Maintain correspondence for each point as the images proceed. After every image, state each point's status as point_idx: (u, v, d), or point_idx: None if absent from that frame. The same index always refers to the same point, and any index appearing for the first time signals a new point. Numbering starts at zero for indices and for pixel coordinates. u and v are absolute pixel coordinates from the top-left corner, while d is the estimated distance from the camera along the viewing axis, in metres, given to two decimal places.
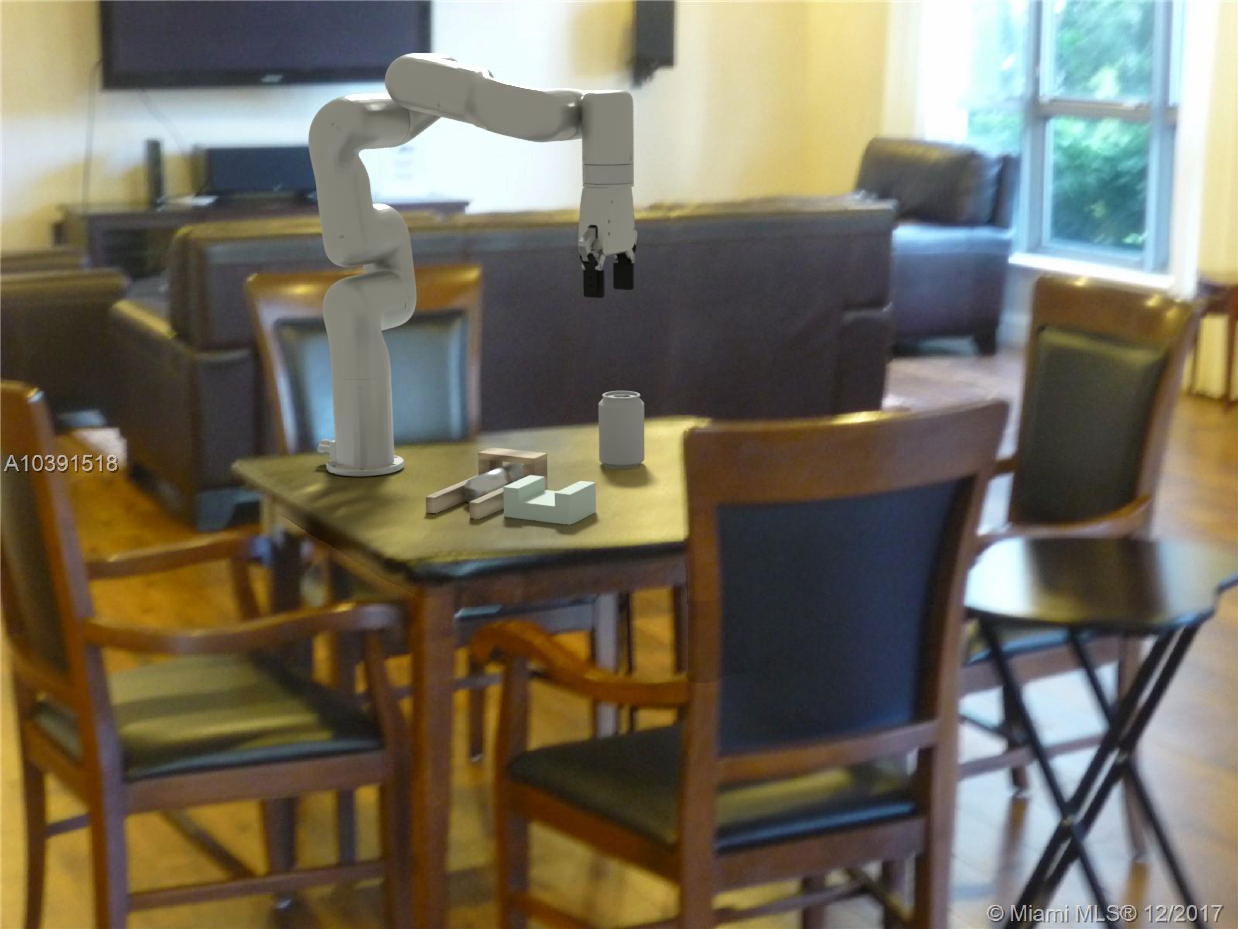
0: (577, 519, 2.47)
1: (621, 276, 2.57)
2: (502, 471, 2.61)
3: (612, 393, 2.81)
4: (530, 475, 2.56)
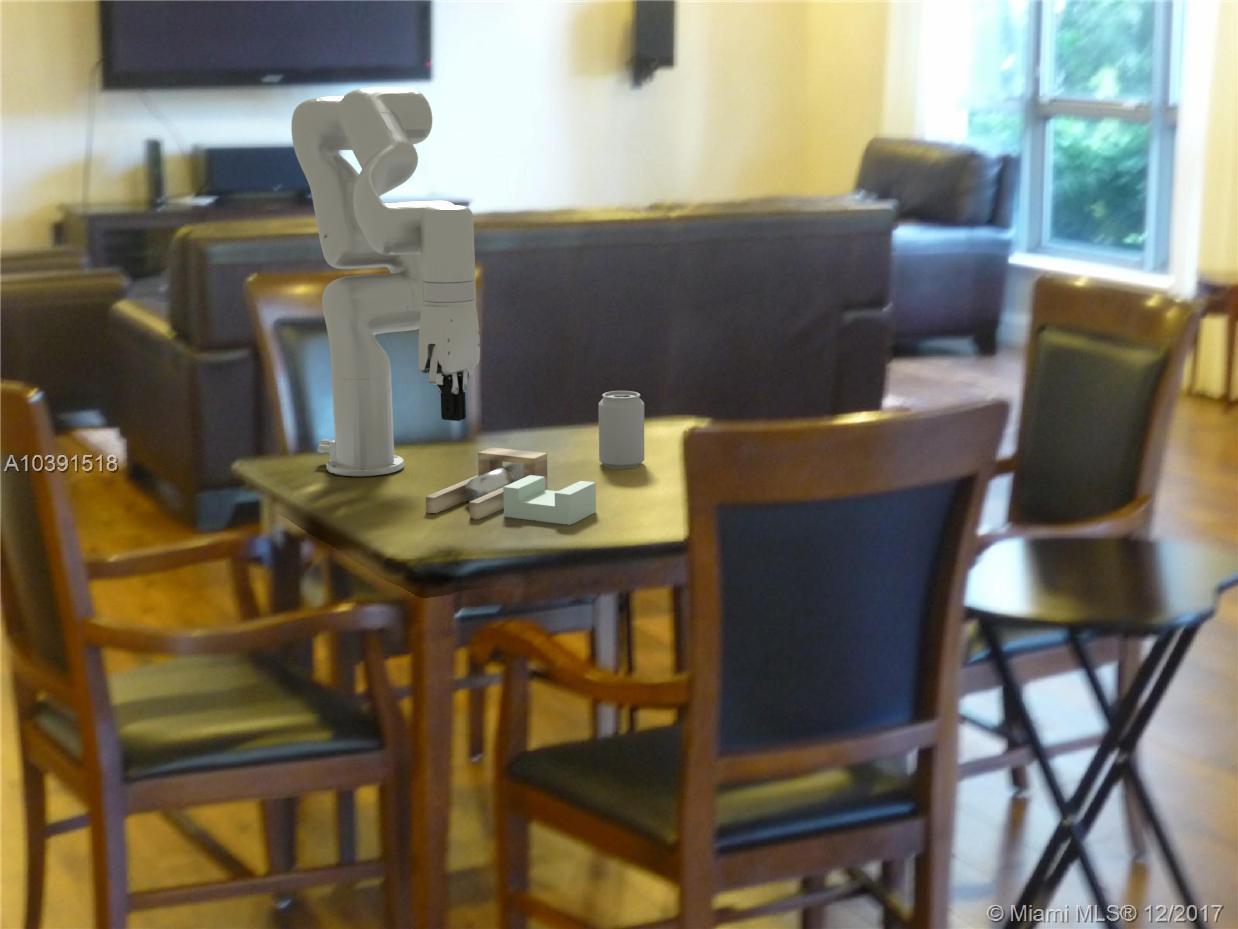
0: (577, 519, 2.47)
1: None
2: (504, 472, 2.60)
3: (612, 393, 2.81)
4: (530, 475, 2.56)
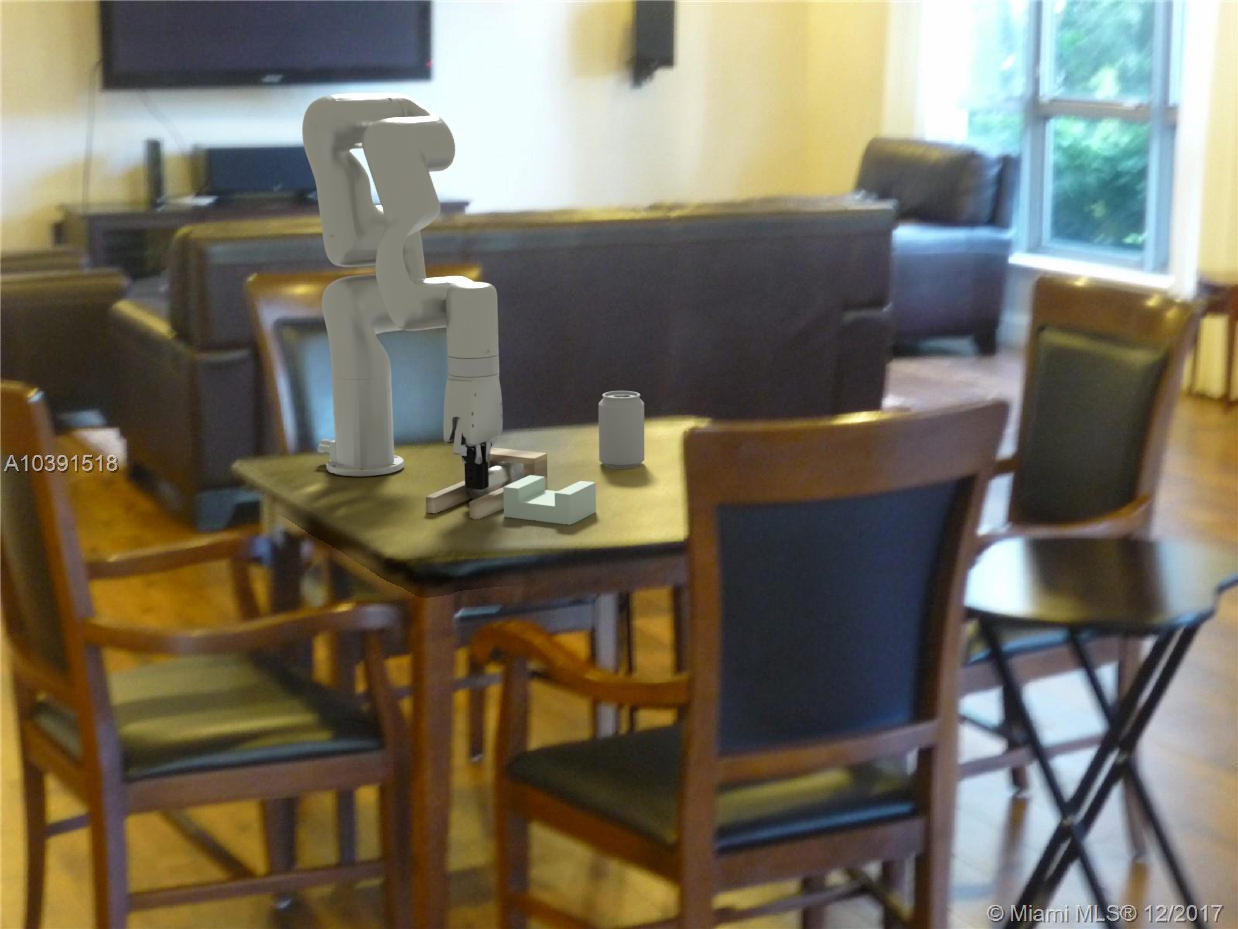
0: (577, 519, 2.47)
1: None
2: (500, 465, 2.63)
3: (612, 393, 2.81)
4: (530, 475, 2.56)
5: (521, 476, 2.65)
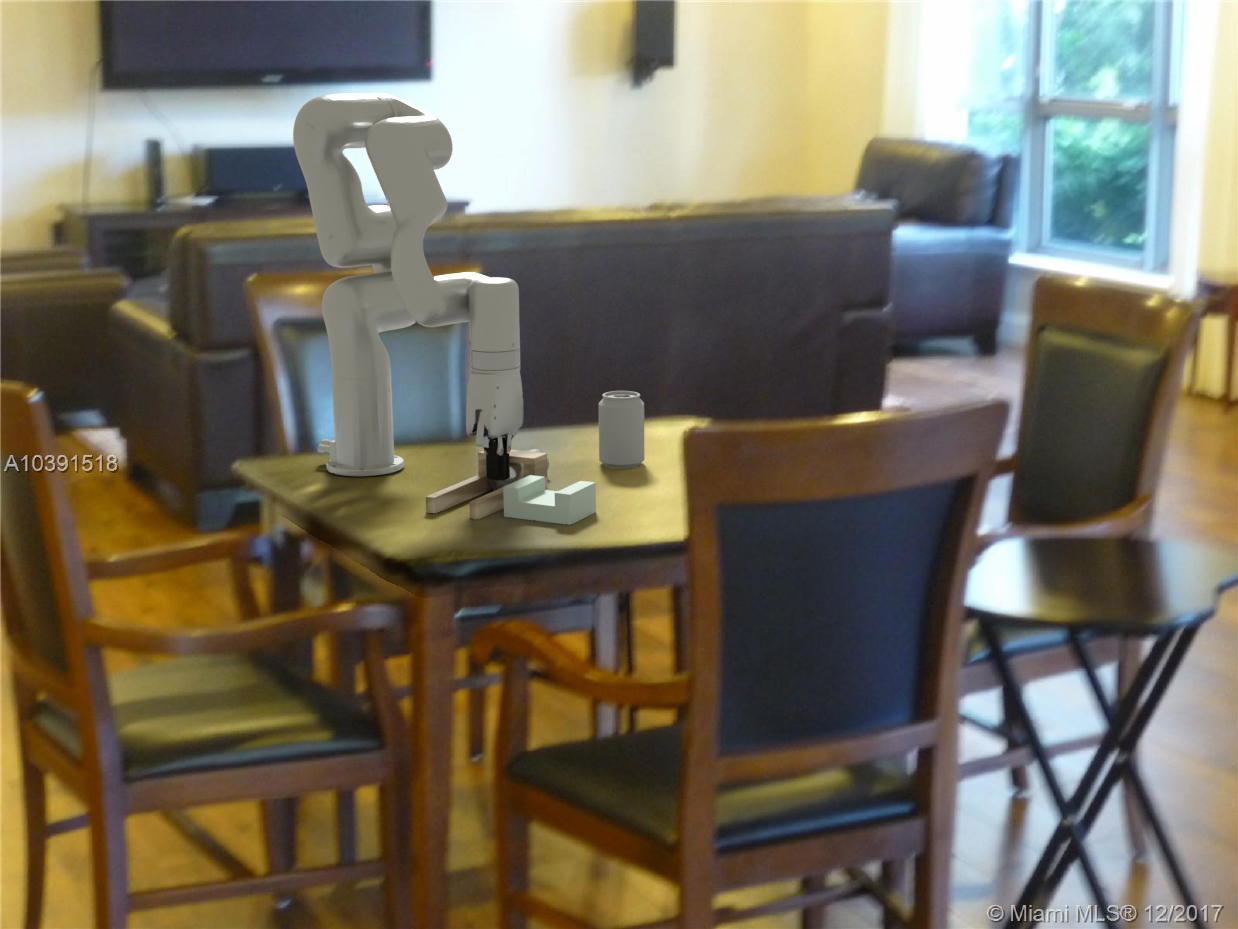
0: (577, 519, 2.47)
1: None
2: None
3: (612, 393, 2.81)
4: (530, 475, 2.56)
5: None
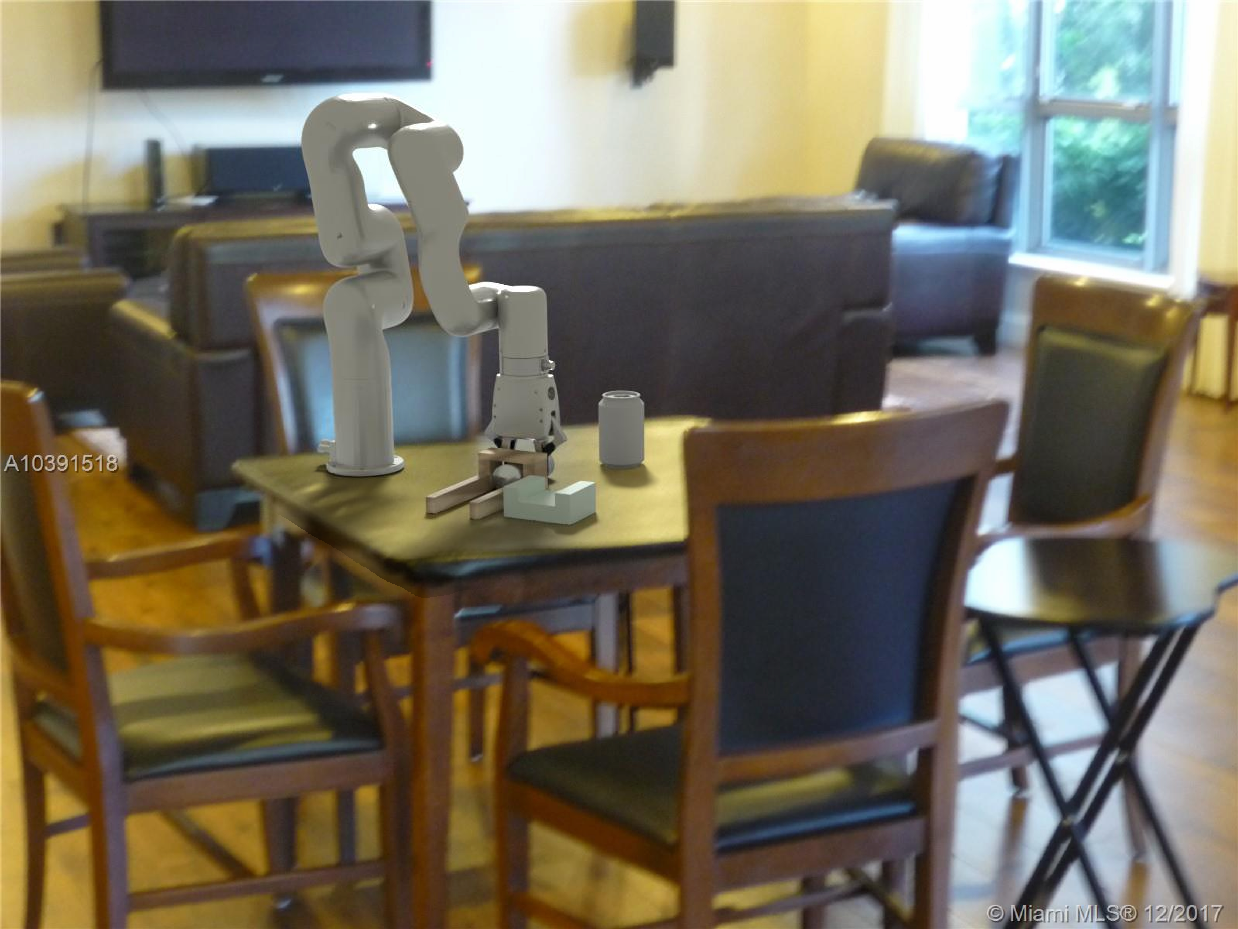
0: (577, 519, 2.47)
1: None
2: None
3: (612, 393, 2.81)
4: (530, 475, 2.56)
5: None
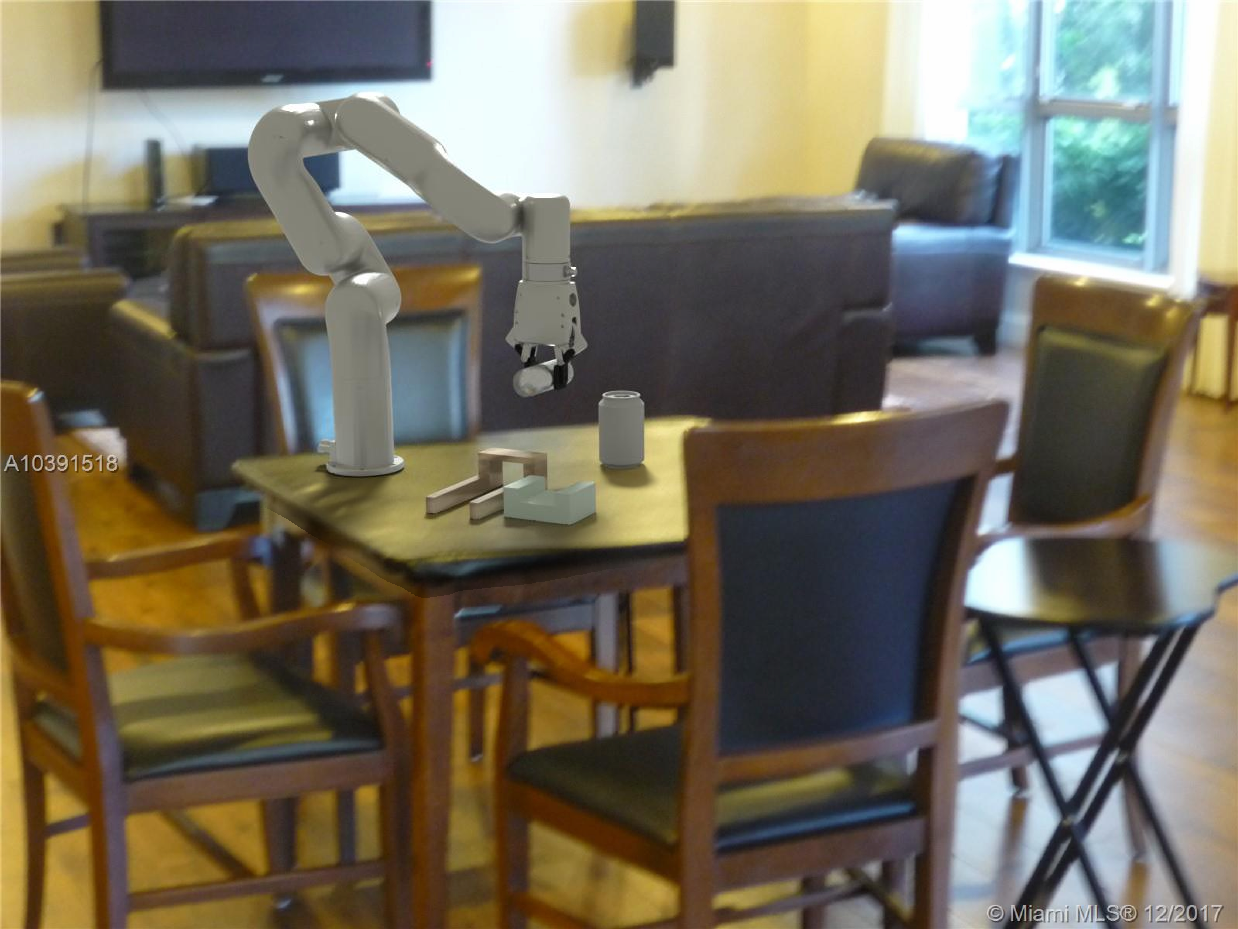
0: (577, 519, 2.47)
1: None
2: (550, 366, 2.71)
3: (612, 393, 2.81)
4: (530, 475, 2.56)
5: None
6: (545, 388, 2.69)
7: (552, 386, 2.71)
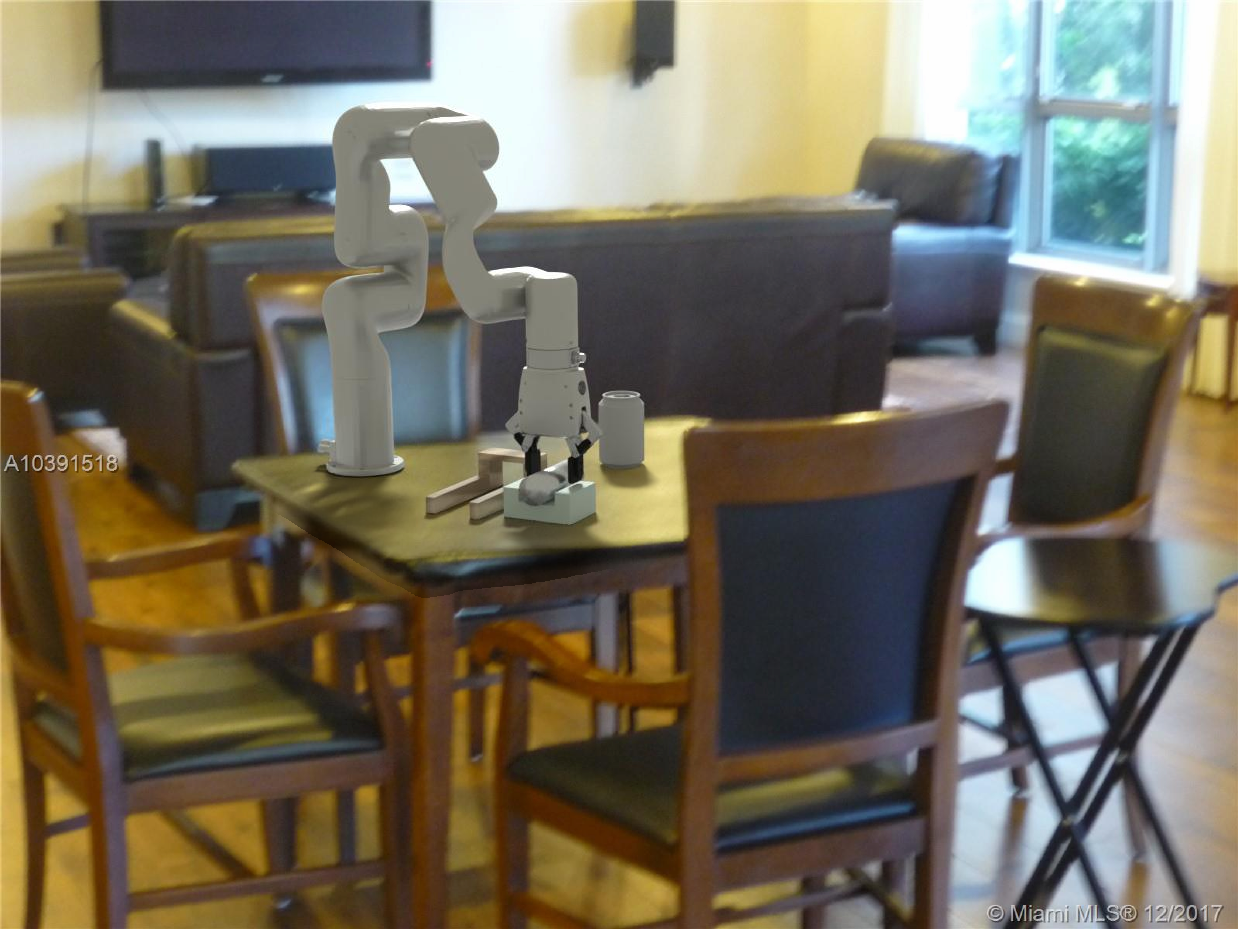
0: (577, 519, 2.47)
1: None
2: (560, 471, 2.50)
3: (612, 393, 2.81)
4: None
5: None
6: (553, 496, 2.48)
7: None
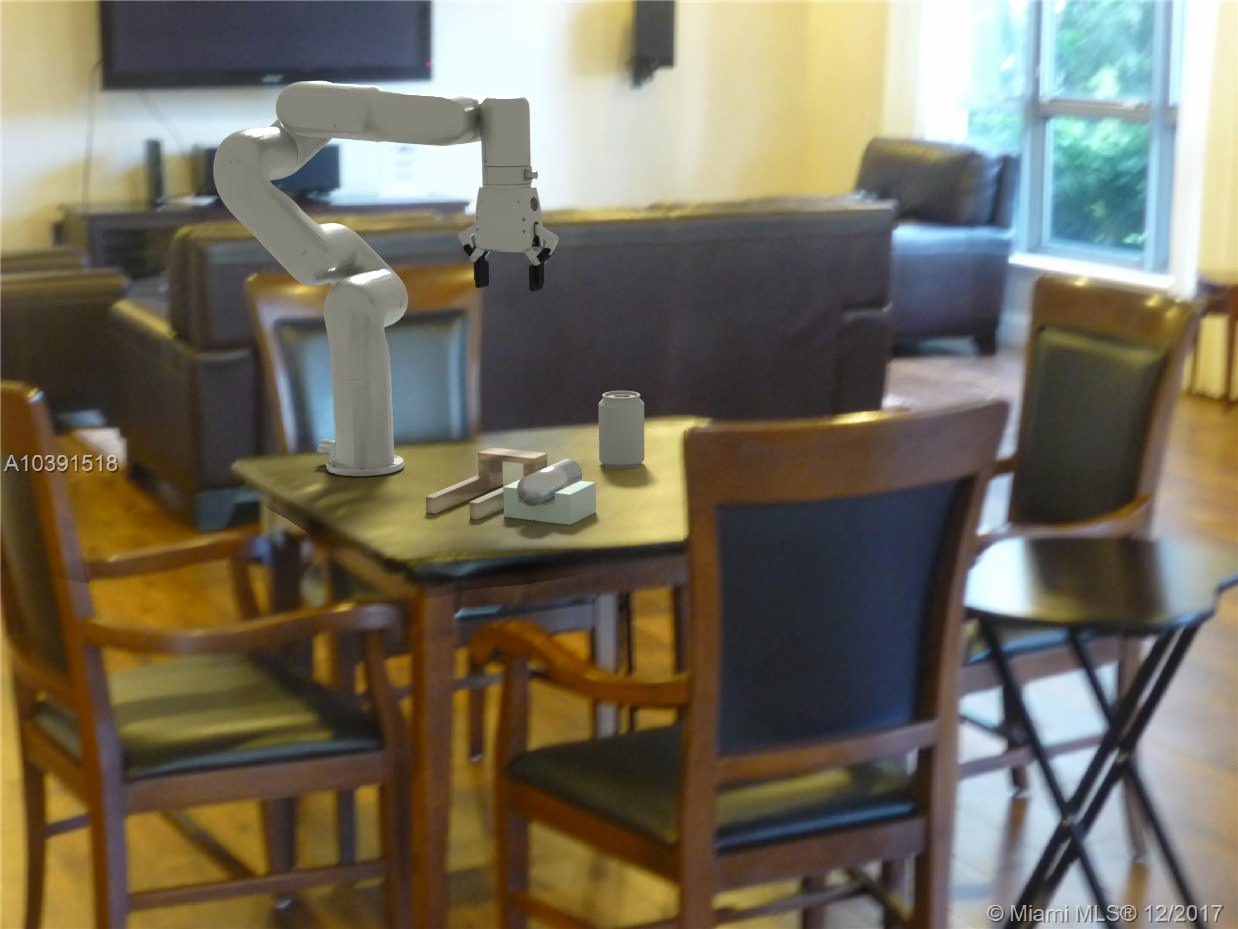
0: (577, 519, 2.47)
1: None
2: (556, 469, 2.50)
3: (612, 393, 2.81)
4: None
5: (573, 483, 2.53)
6: (552, 494, 2.48)
7: None
